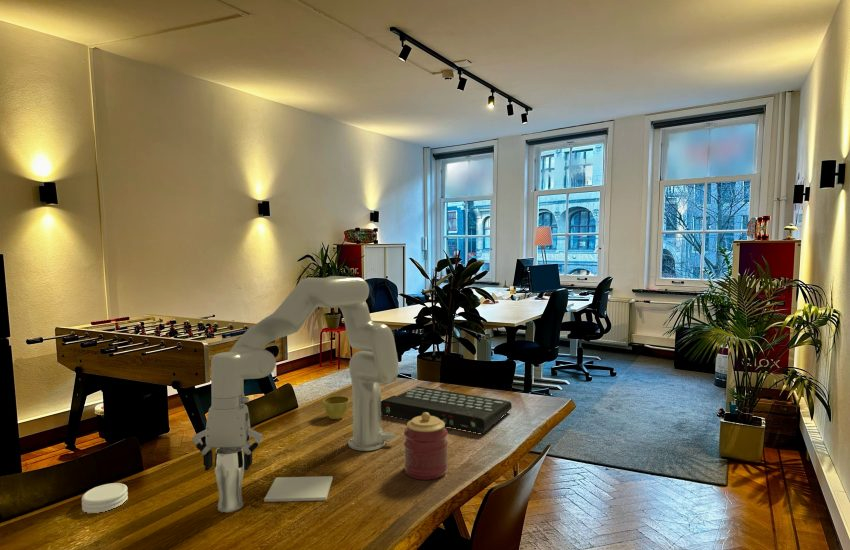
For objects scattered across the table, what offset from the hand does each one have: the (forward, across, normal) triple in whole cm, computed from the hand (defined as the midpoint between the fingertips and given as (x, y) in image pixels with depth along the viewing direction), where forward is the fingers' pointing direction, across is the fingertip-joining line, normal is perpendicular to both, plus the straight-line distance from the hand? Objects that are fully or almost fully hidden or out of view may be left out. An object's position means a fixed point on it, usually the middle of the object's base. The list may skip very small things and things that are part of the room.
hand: (228, 468), depth 125 cm
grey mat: (+10, -16, -8) cm, 21 cm away
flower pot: (+9, -18, -66) cm, 70 cm away
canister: (+10, -51, -18) cm, 55 cm away
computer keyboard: (+9, -62, -69) cm, 93 cm away
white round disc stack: (+11, +33, -4) cm, 35 cm away
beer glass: (+10, 0, 0) cm, 10 cm away
